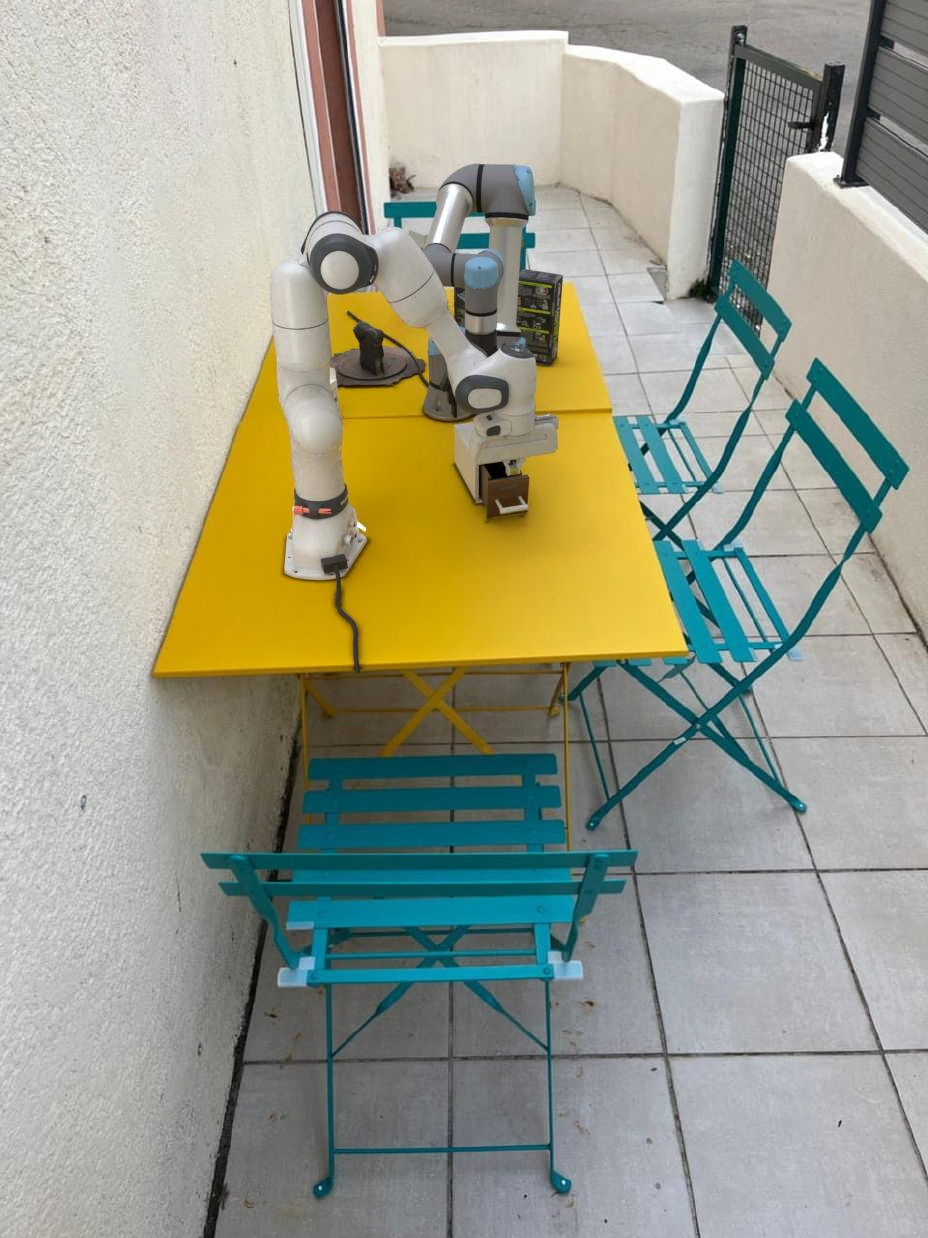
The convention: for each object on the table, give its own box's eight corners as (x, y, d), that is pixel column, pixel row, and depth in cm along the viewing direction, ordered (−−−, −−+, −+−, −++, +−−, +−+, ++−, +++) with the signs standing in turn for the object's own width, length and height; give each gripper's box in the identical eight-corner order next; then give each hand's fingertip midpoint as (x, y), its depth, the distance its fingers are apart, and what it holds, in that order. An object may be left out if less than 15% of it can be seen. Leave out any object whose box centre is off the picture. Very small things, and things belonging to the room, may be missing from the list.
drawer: (534, 523, 210) (536, 488, 204) (493, 530, 208) (494, 494, 202) (504, 474, 227) (505, 440, 221) (466, 480, 225) (466, 445, 219)
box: (558, 357, 283) (564, 272, 266) (551, 366, 278) (556, 280, 261) (461, 342, 293) (461, 259, 276) (453, 350, 288) (452, 266, 271)
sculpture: (406, 397, 263) (403, 345, 252) (297, 384, 270) (290, 333, 259) (437, 352, 287) (436, 303, 277) (336, 341, 294) (331, 293, 284)
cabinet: (518, 496, 221) (520, 455, 213) (475, 503, 219) (475, 462, 211) (495, 458, 235) (496, 418, 228) (454, 464, 233) (453, 424, 225)
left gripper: (554, 406, 199) (550, 460, 207) (466, 418, 194) (467, 473, 203) (564, 418, 194) (560, 473, 203) (474, 431, 190) (474, 487, 199)
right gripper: (526, 316, 212) (523, 398, 226) (425, 328, 207) (428, 411, 221) (536, 328, 206) (532, 411, 220) (433, 341, 201) (435, 425, 215)
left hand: (512, 473), depth 203 cm, fingers closed
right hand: (480, 411), depth 220 cm, fingers open, 13 cm apart
